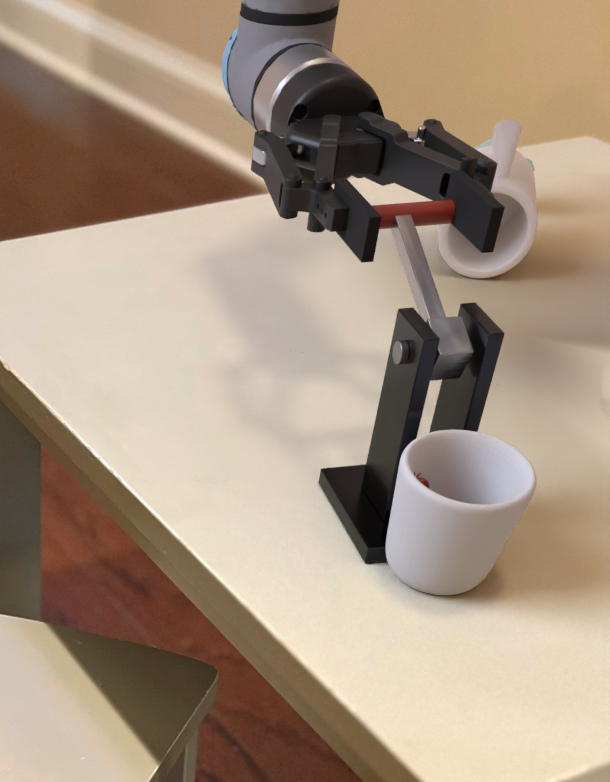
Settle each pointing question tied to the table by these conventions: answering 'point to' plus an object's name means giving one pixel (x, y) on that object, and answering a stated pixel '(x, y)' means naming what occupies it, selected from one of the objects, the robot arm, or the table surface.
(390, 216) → the lever
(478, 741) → the table surface
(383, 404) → the bracket
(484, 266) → the mug
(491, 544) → the cup
